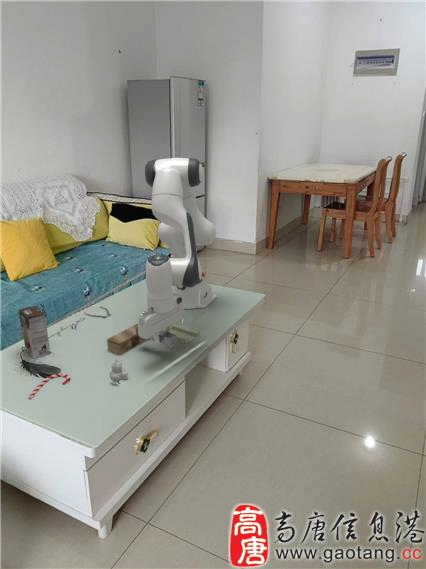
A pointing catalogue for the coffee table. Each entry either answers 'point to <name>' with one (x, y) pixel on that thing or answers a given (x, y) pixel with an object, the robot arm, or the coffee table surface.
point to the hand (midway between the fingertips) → (162, 339)
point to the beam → (124, 341)
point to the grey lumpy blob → (118, 372)
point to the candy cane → (47, 381)
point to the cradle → (183, 333)
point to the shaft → (164, 338)
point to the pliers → (100, 316)
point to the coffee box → (34, 331)
